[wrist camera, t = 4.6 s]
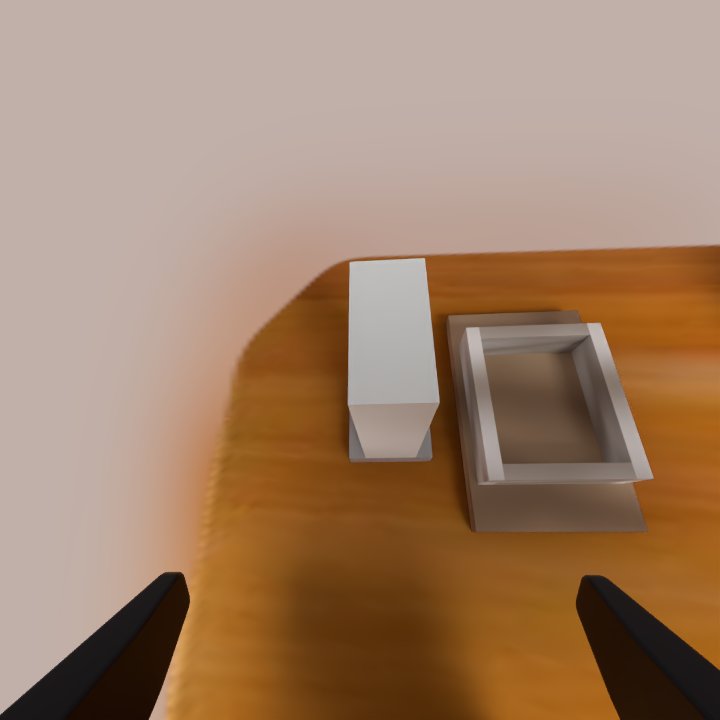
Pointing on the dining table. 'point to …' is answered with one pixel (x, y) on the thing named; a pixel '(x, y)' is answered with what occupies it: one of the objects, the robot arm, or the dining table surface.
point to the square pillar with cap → (390, 362)
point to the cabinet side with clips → (544, 425)
